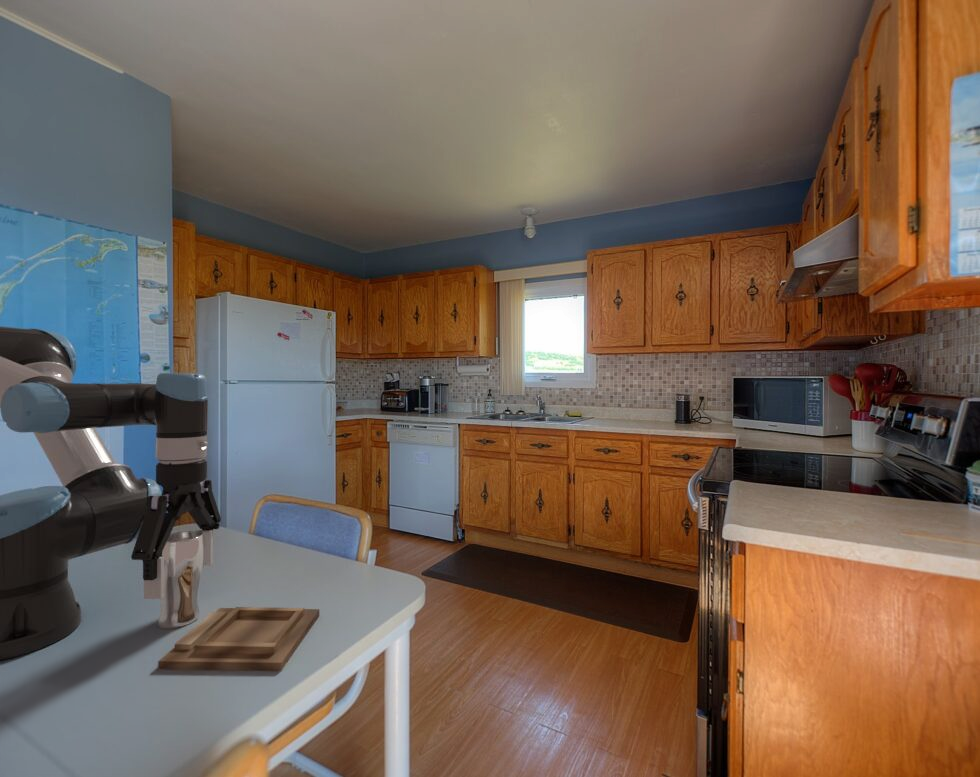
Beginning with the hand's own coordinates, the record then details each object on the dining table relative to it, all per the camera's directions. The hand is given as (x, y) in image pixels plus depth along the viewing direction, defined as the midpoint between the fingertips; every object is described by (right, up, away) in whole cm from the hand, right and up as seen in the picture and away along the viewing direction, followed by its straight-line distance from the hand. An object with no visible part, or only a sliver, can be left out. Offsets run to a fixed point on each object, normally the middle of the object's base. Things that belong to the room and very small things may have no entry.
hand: (181, 580), depth 81 cm
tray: (+15, -8, -6) cm, 17 cm away
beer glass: (0, -7, 0) cm, 7 cm away
